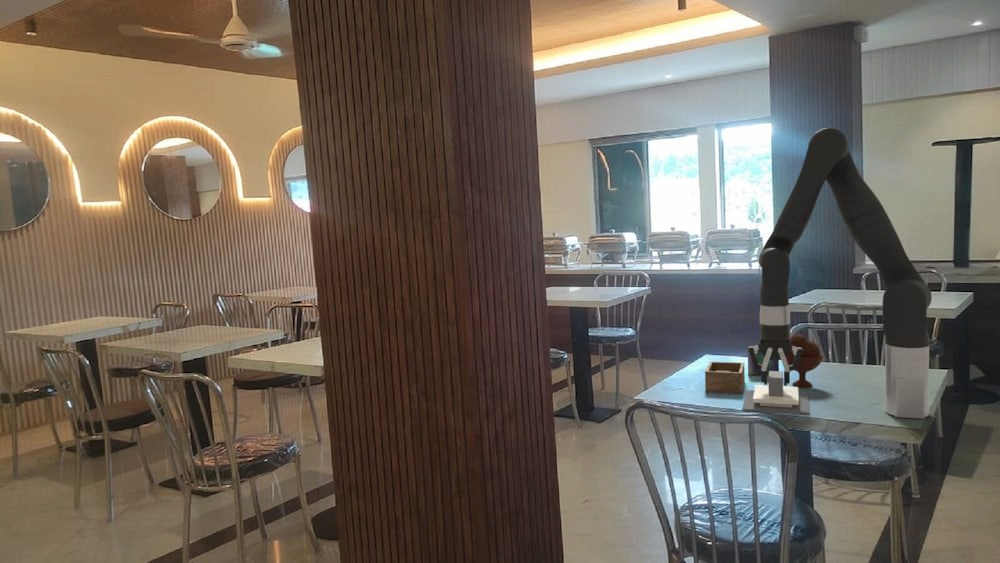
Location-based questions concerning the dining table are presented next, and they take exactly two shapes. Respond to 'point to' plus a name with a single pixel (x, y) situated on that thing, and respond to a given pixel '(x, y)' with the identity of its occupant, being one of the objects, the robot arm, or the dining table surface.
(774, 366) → the flask
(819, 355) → the ice cream bowl
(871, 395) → the dining table surface
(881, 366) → the dining table surface
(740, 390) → the storage box
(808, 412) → the rubber mat
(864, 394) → the dining table surface
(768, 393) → the lid
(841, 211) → the robot arm
